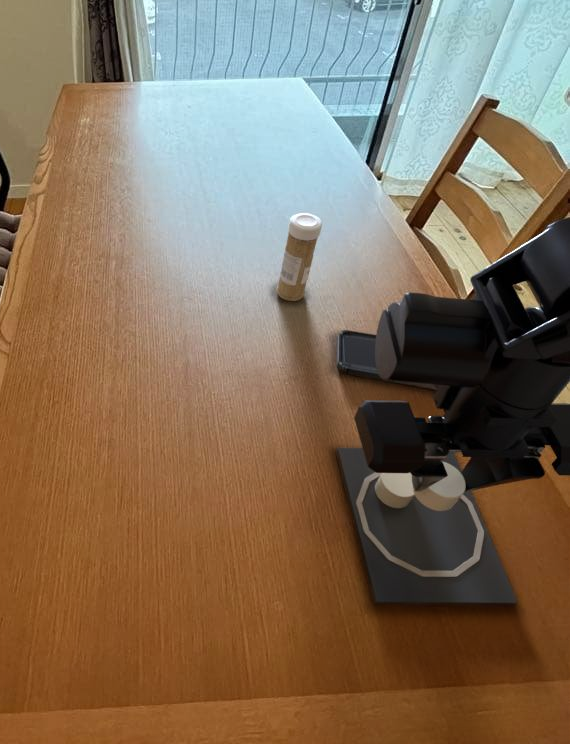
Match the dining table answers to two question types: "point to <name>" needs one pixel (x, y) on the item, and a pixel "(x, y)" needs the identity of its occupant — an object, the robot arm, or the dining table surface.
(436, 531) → the slate
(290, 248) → the sprinkles bottle
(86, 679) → the dining table surface
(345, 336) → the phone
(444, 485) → the cream round box
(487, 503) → the dining table surface
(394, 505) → the white round puck
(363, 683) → the dining table surface
